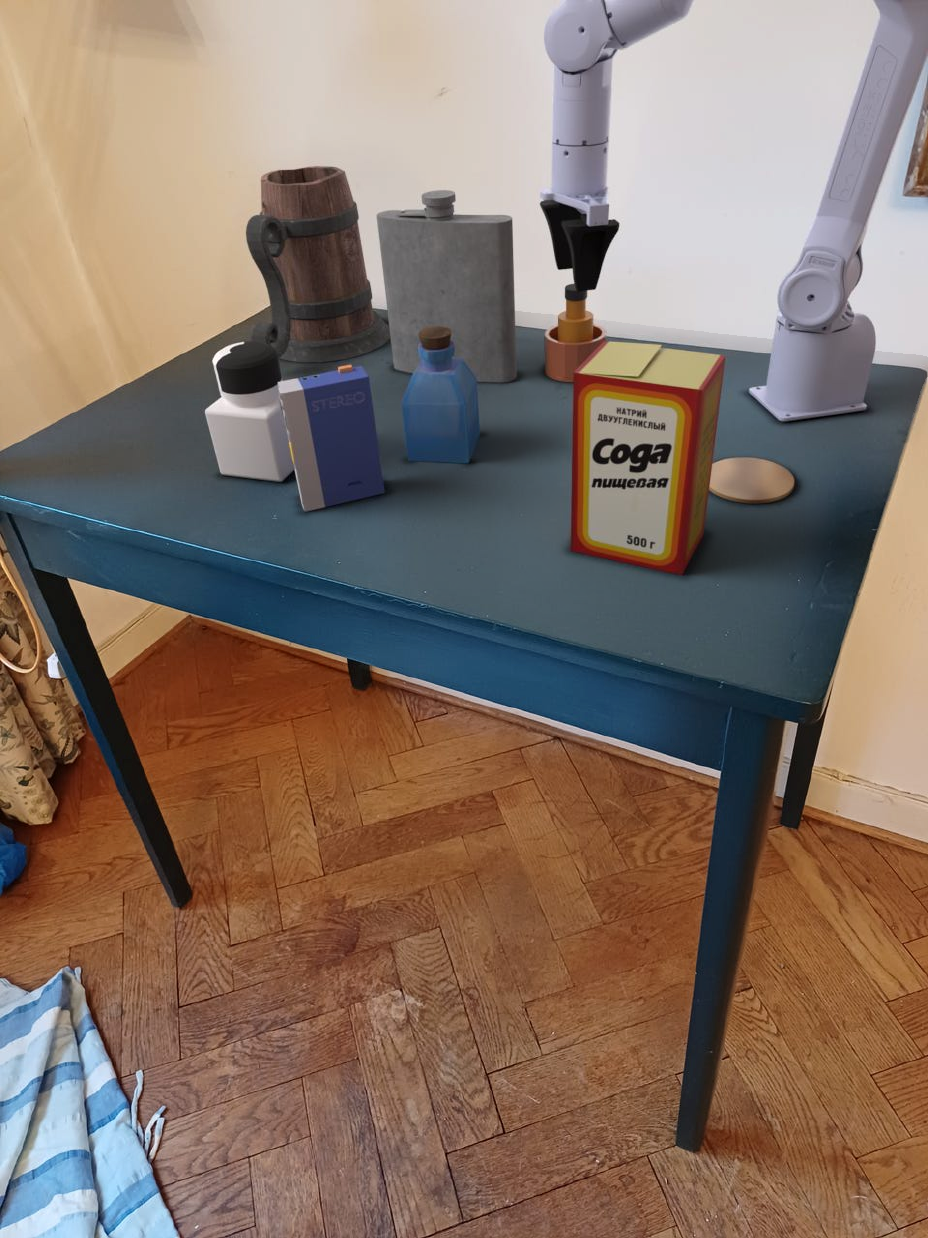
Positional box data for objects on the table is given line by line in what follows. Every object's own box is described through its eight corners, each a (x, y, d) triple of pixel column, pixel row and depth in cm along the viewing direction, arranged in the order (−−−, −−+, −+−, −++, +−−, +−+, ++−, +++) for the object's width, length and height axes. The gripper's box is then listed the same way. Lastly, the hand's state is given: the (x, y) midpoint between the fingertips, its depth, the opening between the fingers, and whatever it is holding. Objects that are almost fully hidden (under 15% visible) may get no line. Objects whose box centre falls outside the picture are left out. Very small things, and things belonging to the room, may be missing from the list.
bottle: (586, 357, 106) (588, 279, 100) (596, 370, 102) (598, 289, 97) (554, 362, 105) (554, 283, 99) (562, 374, 102) (563, 294, 96)
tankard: (306, 311, 127) (280, 157, 114) (412, 320, 121) (396, 159, 109) (210, 375, 110) (167, 202, 98) (327, 389, 104) (297, 207, 92)
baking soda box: (703, 533, 75) (726, 350, 65) (681, 575, 70) (702, 384, 61) (597, 512, 79) (604, 336, 69) (570, 550, 74) (573, 367, 64)
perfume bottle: (468, 463, 88) (460, 344, 80) (408, 460, 89) (394, 344, 81) (479, 434, 92) (473, 320, 85) (422, 433, 93) (411, 320, 86)
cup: (594, 355, 107) (595, 318, 104) (612, 377, 102) (614, 339, 99) (538, 363, 106) (538, 326, 104) (553, 385, 101) (553, 347, 98)
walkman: (377, 480, 86) (360, 361, 79) (384, 493, 84) (368, 372, 76) (297, 498, 84) (273, 378, 77) (303, 512, 82) (278, 389, 75)
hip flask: (520, 373, 104) (516, 189, 92) (507, 386, 102) (501, 199, 89) (401, 359, 110) (382, 185, 98) (386, 372, 107) (364, 193, 95)
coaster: (769, 455, 85) (770, 452, 85) (809, 496, 79) (810, 492, 78) (690, 467, 84) (690, 463, 84) (724, 509, 78) (724, 505, 78)
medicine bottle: (315, 450, 92) (294, 337, 84) (282, 483, 87) (257, 365, 79) (255, 443, 94) (229, 332, 87) (219, 476, 89) (189, 360, 81)
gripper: (525, 131, 94) (525, 262, 103) (560, 158, 83) (557, 303, 91) (589, 125, 95) (584, 256, 103) (633, 151, 84) (623, 296, 92)
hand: (575, 278), depth 97 cm, fingers open, 7 cm apart
